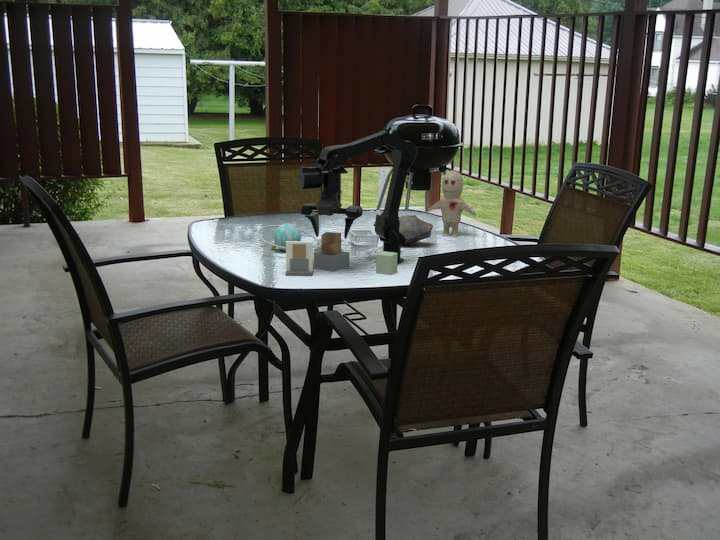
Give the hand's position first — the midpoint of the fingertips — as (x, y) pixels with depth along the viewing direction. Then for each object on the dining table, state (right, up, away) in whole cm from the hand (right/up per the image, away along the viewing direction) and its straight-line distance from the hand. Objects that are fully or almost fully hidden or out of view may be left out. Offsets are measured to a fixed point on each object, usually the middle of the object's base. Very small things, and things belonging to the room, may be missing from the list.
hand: (331, 237), depth 241 cm
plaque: (-9, -11, -6) cm, 16 cm away
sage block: (+17, -11, -3) cm, 21 cm away
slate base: (0, -10, +2) cm, 10 cm away
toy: (+44, +3, +54) cm, 69 cm away
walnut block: (0, -5, +1) cm, 5 cm away
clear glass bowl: (-16, -4, +24) cm, 29 cm away
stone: (+26, -1, +38) cm, 46 cm away
